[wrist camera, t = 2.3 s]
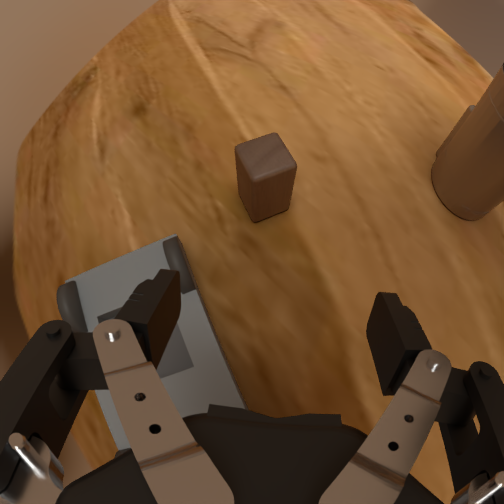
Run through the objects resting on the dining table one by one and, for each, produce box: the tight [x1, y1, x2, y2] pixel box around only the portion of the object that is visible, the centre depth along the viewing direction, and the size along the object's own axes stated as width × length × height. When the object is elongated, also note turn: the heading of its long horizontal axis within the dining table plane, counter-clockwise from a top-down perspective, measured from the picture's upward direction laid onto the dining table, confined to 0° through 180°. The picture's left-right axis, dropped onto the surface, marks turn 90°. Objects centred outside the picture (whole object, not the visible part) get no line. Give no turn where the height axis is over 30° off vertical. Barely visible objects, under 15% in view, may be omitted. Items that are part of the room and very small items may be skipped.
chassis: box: [57, 234, 248, 458], centre depth 25 cm, size 22×12×5 cm, turn 23°
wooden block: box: [235, 133, 297, 222], centre depth 29 cm, size 4×4×8 cm
